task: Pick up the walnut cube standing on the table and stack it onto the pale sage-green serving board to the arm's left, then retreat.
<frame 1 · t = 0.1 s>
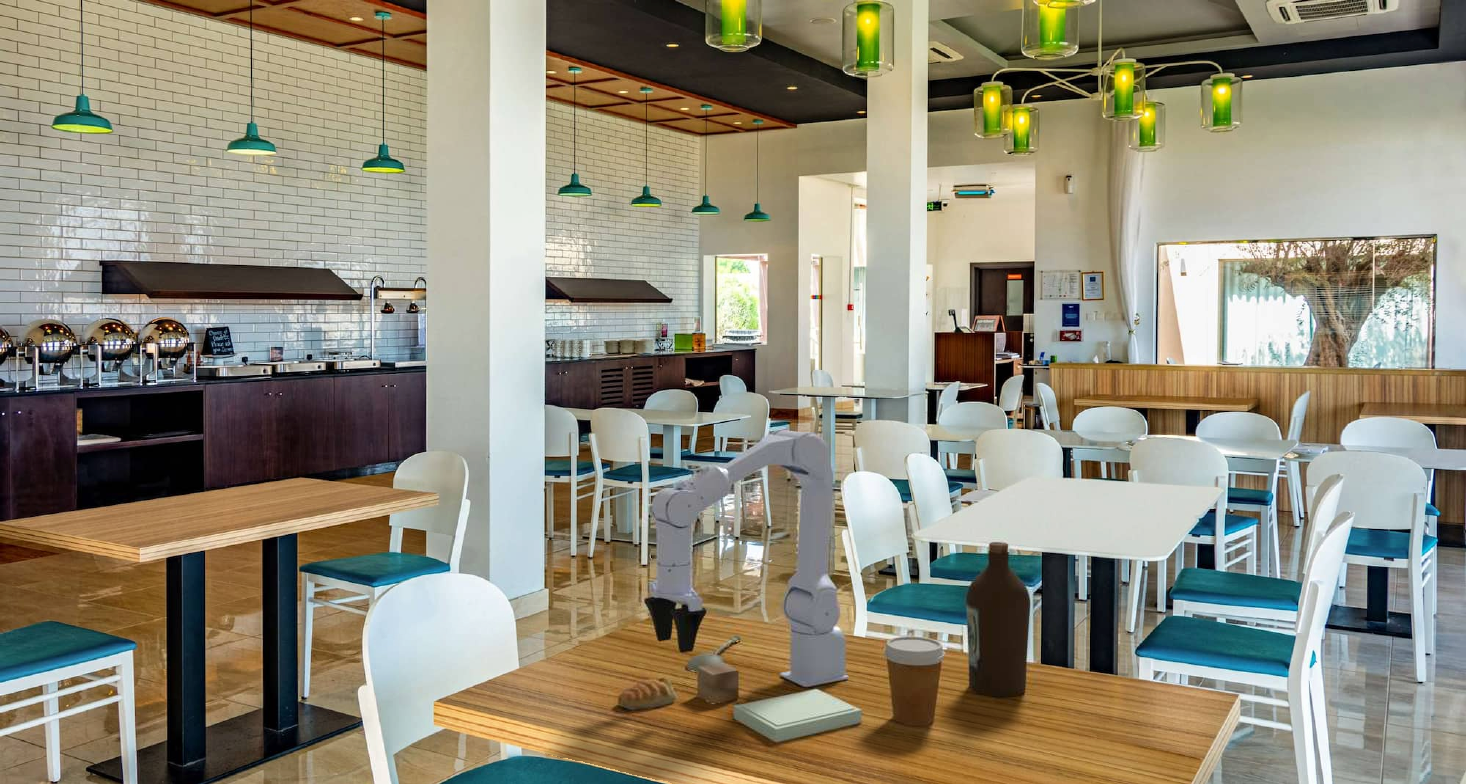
hand: (674, 645, 174), 10 cm above the table, tool pointing down, fingers open, 7 cm apart
disposable coffee cup: (913, 720, 169), on the table
walnut block: (717, 698, 179), on the table
pastry: (648, 705, 177), on the table
serving board: (797, 720, 168), on the table
soupspoon: (718, 660, 202), on the table
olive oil: (996, 689, 184), on the table
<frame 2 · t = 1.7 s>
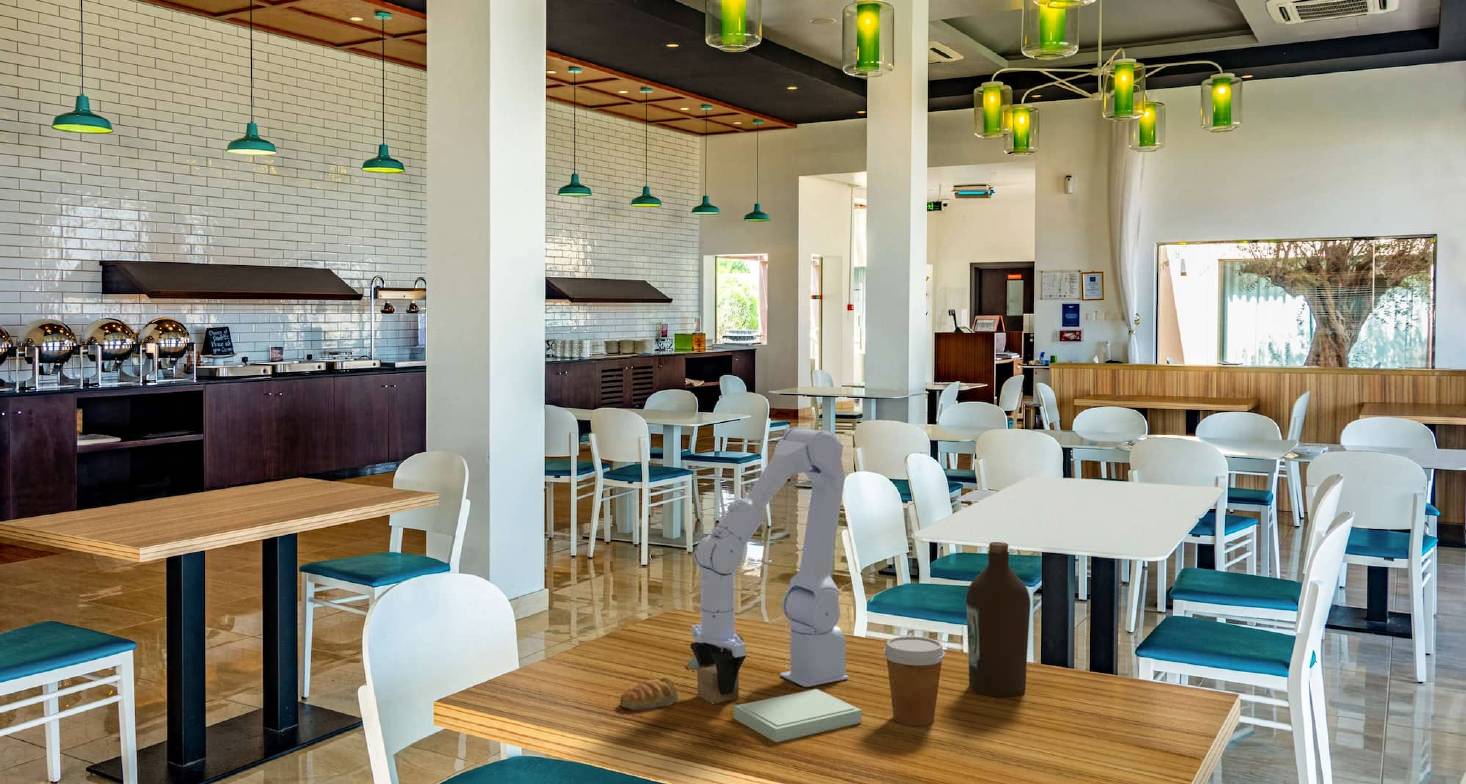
hand: (717, 689, 179), 1 cm above the table, tool pointing down, fingers closed on walnut block, 5 cm apart
walnut block: (717, 697, 179), on the table, touching gripper
everything else where it was.
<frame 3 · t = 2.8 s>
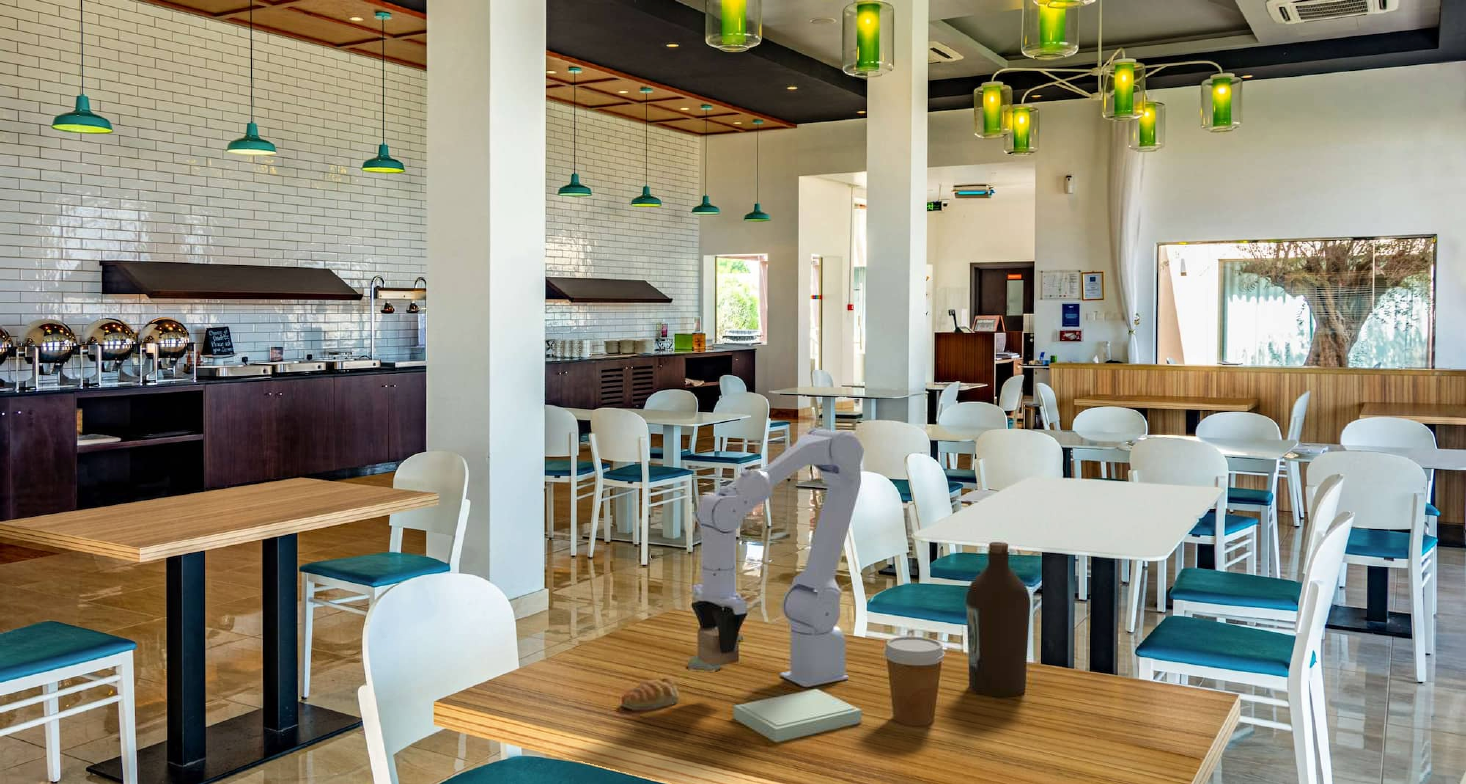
hand: (719, 648, 179), 8 cm above the table, tool pointing down, fingers closed on walnut block, 5 cm apart
walnut block: (718, 660, 179), point 6 cm above the table, touching gripper
everything else where it was.
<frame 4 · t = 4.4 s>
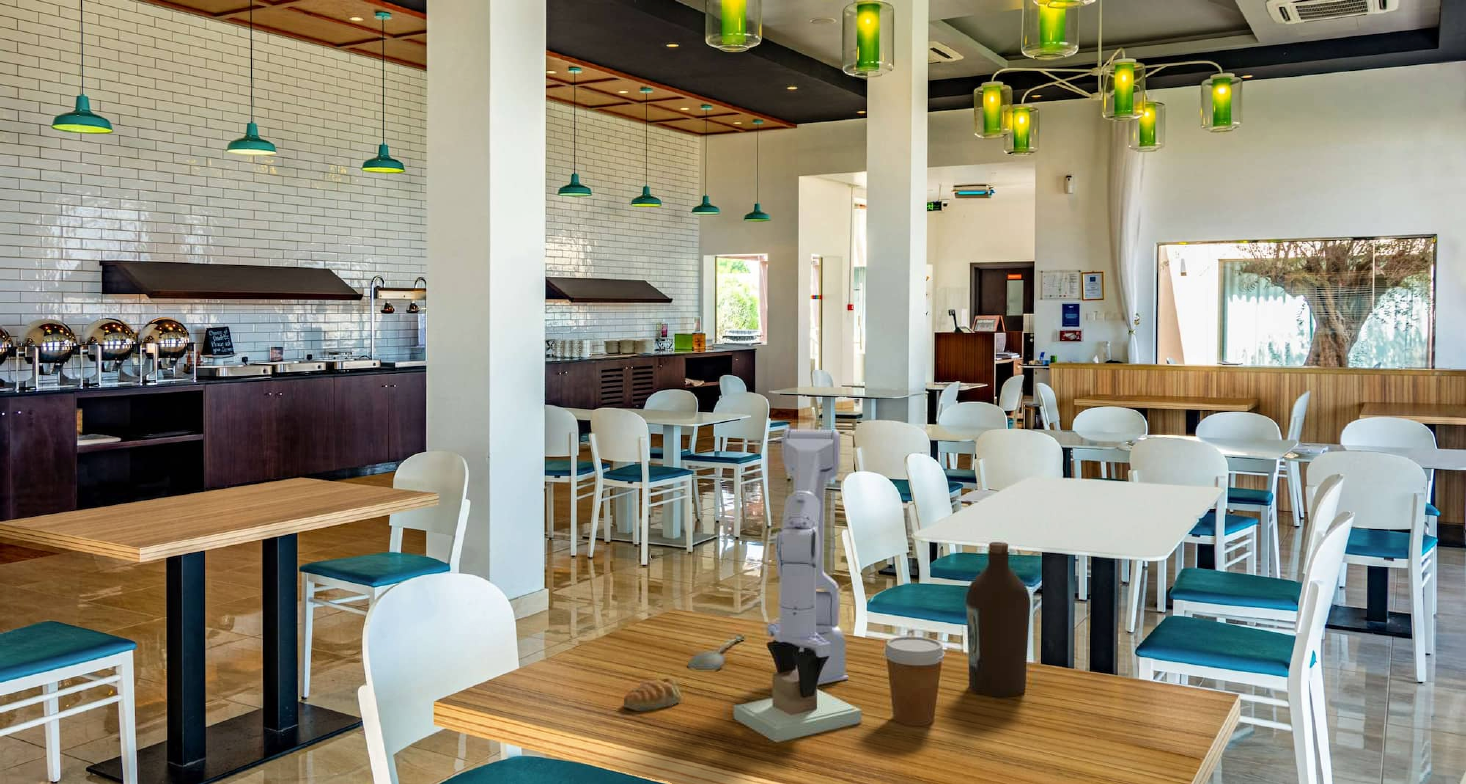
hand: (797, 691, 168), 5 cm above the table, tool pointing down, fingers closed on walnut block, 5 cm apart
walnut block: (794, 707, 168), point 2 cm above the table, touching gripper, serving board
when the fingers open (5 cm above the table, at t = 4.9 s): walnut block stays where it is, resting on serving board.
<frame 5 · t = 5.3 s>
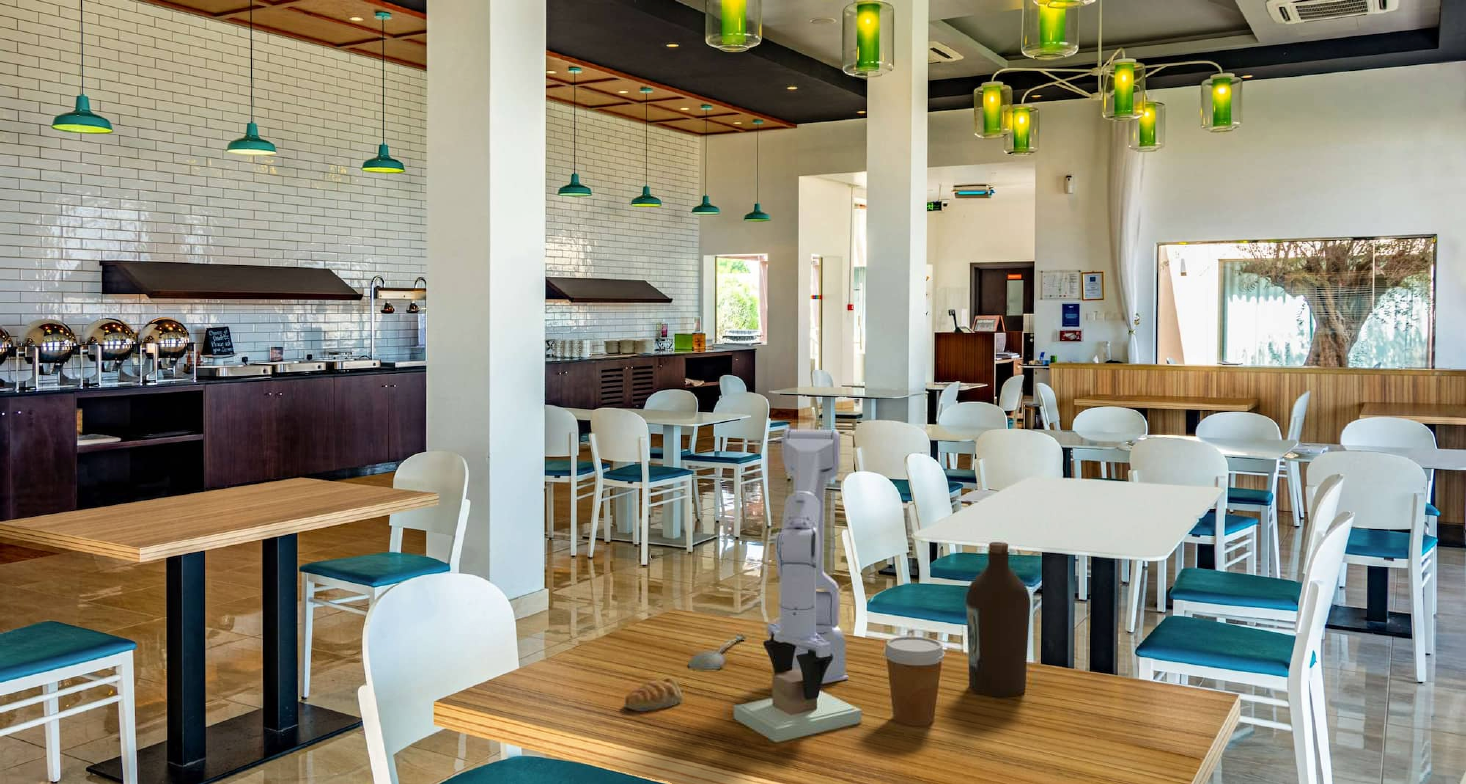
hand: (797, 691, 168), 5 cm above the table, tool pointing down, fingers open, 7 cm apart
walnut block: (794, 707, 168), point 2 cm above the table, touching serving board
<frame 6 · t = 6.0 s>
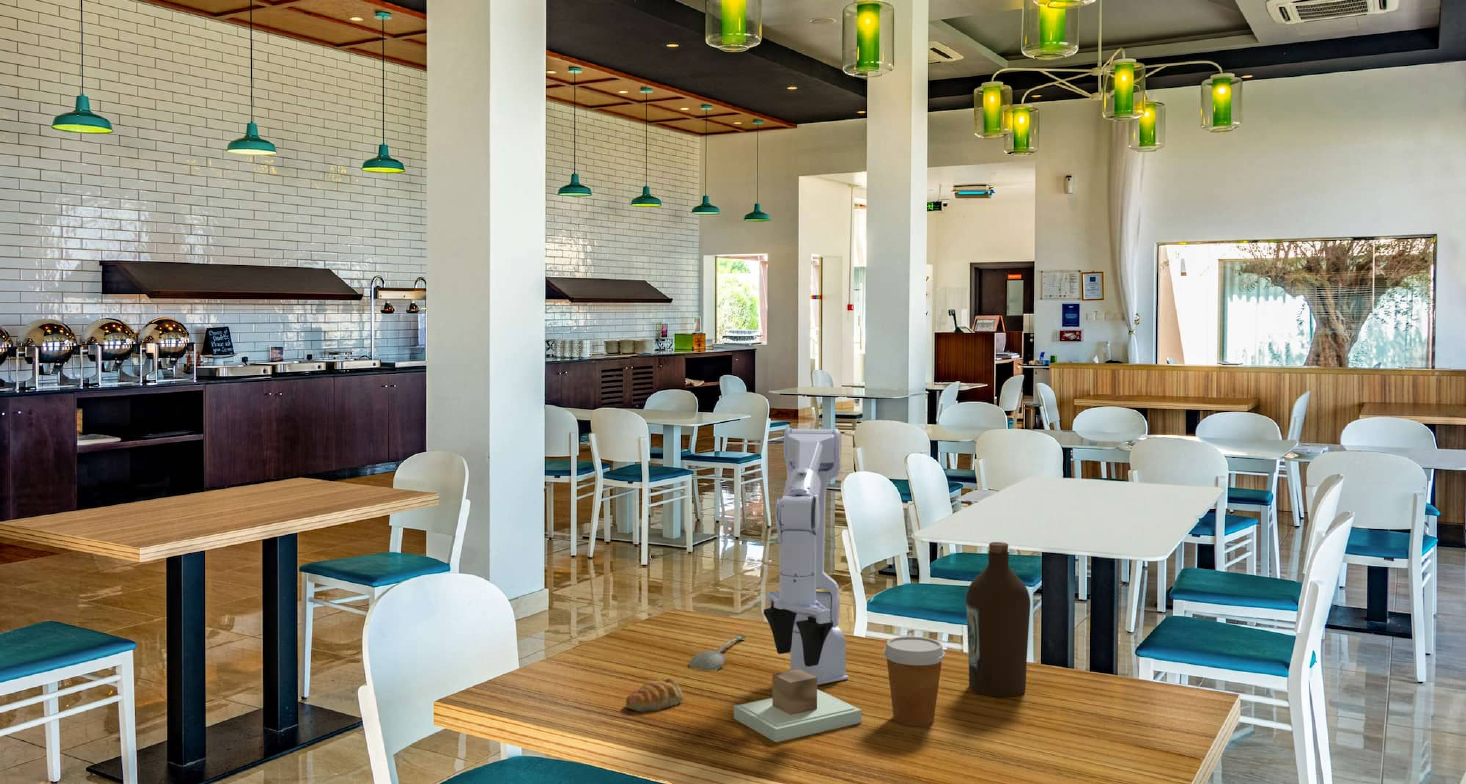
hand: (797, 659, 168), 10 cm above the table, tool pointing down, fingers open, 7 cm apart
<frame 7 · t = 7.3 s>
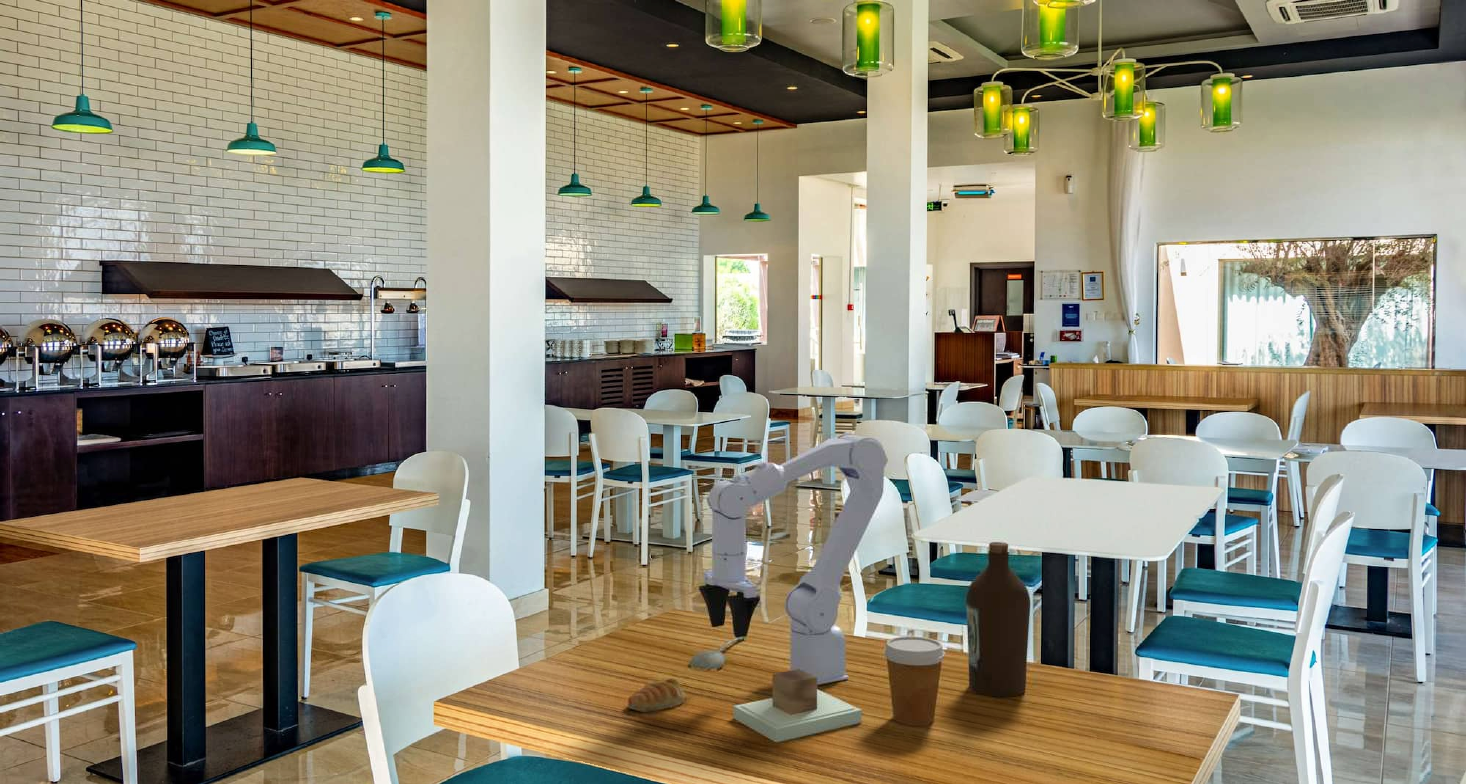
hand: (729, 631, 183), 10 cm above the table, tool pointing down, fingers open, 7 cm apart
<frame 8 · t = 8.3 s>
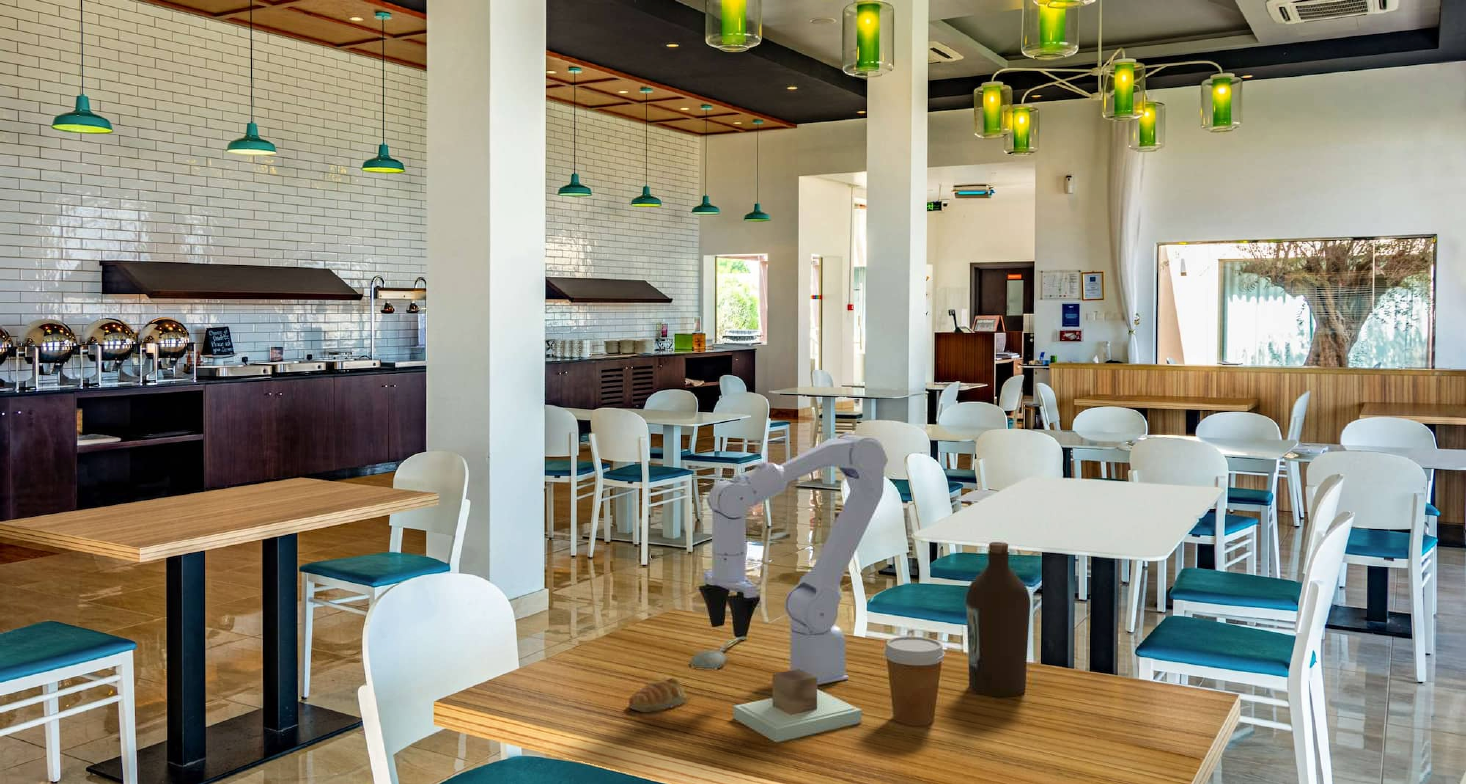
hand: (729, 631, 183), 10 cm above the table, tool pointing down, fingers open, 7 cm apart
at the end: walnut block inside the target area on the serving board (0.6 cm from its centre), point 2.2 cm above the serving board's base; walnut block tilted 0°; the gripper is holding nothing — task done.
